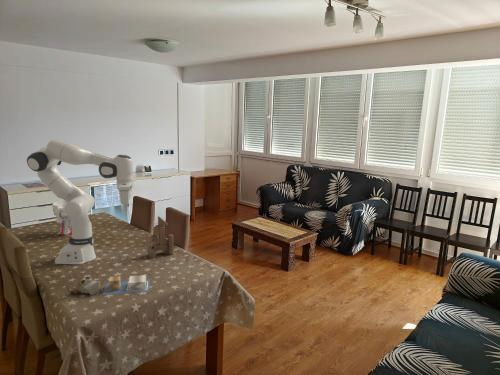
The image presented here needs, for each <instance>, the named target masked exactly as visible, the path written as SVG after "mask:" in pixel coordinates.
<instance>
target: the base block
mask: <svg viewBox="0 0 500 375" xmlns="http://www.w3.org/2000/svg"><path fill="white" fill-rule="evenodd" d="M146 280H147V275H146V274H143V275H130V276H129V280H128V281H129V290H142V289H145V288H146Z"/></svg>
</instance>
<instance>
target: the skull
mask: <svg viewBox="0 0 500 375" xmlns="http://www.w3.org/2000/svg"><path fill="white" fill-rule="evenodd" d="M67 203H68V202H67V201H65V200H63V199H62V200H58V201H54V202H52V211H53V216H55V217H56V218H55V219H56V220H55V221H56V223H57V224H59V226H60V231H59V232H57V234H56V235H57V236H58V235H61V237H63V236H64V235H65V236H66V235H67V236H68V235H69V234H70V236H71V235H72V228H71V222H70V219H69V216H68V215H67V214H66V213H65V206H66V204H67Z"/></svg>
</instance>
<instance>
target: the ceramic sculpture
mask: <svg viewBox="0 0 500 375" xmlns="http://www.w3.org/2000/svg"><path fill="white" fill-rule="evenodd" d="M67 291H68V293H71V294H89V295H90V296H93V295H96V294H98V293H99V292H100V291H101V282H100V281H99V280H98V281H95V280H93V278H92V277H89V276H86V277H84V278H82V279H80V280H79V281H78V283H77V286H75V287H73V288H72V289H68V290H67Z"/></svg>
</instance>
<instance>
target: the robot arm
mask: <svg viewBox="0 0 500 375" xmlns="http://www.w3.org/2000/svg"><path fill="white" fill-rule="evenodd" d="M26 163H27V166H28V167H29V169H31V170H32V171H34V172H37V173H36V174H37V176H38V178H39V179H40V181H41V182H42V183H43V185H45V187H47V188H48V189H49V190H50V191H51V192H52V193H53V195H55V196H56V197H57V198H59V199H62V201H63V200H65V201H67V202H68V203H67V204H66V206H65V213H66V214H67V215H68V216H69V219H70V222H71V228H72V235H71V234H70V235H69V238H68V239H67V242H68V243H67V244H65V246H63V247H62V248H61V249H60V251H59V253H58V256H57V257H55V259H54V264H56V265H83V264H84V263H88V262H91V261H94V260H95V259H96V258H97V255H96V253H95V248H94V242H95V241H94V235H93V227H92V225H93V224H92V222H91V221H90V217H89V211H91V210H92V209H93V208H94V207H95V202H96V200H95V197H94V196H93V195H91V194H90V193H87V192H85V191H84V190H83V189H80V188H79V187H78V186H76V185H75V184H73V182H72V181H71V180H69V179H68V178H67V176H66V175H64V174H63V173H62V172H61V171H60V170H59V169H58V166H60V165H61V164H62V163H65V164H69V165H74V166H78V165H81V166H82V165H94V166H98V173H99V175H100V176H101V177H102V178H104V179H112V178H116V188H117V191H118V193H119V199H120V205H122V206H123V211H124V212H128V208H129V207H130V199H131V198H132V196H131V195H132V193H131V191H132V189H133V188H135V184H134V180H135V179H134V175H133V174H134V164H133V159H132V157H131V156H129V155H126V154H118V155H116V156H115V157H113V158H111V157H108V156H104V155H101V154H99V153H95V152H93V151H91V150H90V151H89V150H87V149H86V148H85V149H84V148H82V147H81V146H78V145H75V144H74V143H70V142H67V141H65V140H60V139H51V140H49V142H48V143H47V145H46V146H44V147H42V148H40V149H38V150H36V151H35V152H32V153H31V154H30V155H28V156H27V158H26Z"/></svg>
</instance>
